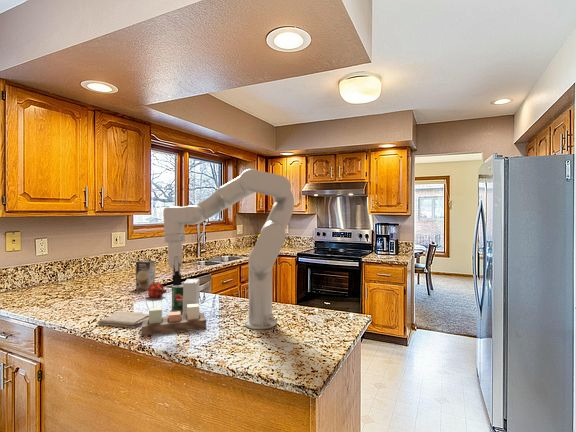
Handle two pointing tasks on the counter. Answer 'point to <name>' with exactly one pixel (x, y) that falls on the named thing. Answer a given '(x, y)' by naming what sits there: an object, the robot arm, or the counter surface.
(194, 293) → the skincare box
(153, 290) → the dragon fruit
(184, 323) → the brown slotted tray
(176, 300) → the canned tomato
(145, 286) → the coffee box
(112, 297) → the counter surface
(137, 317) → the washcloth
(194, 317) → the cream key
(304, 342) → the counter surface
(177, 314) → the terracotta key
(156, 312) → the sage key
